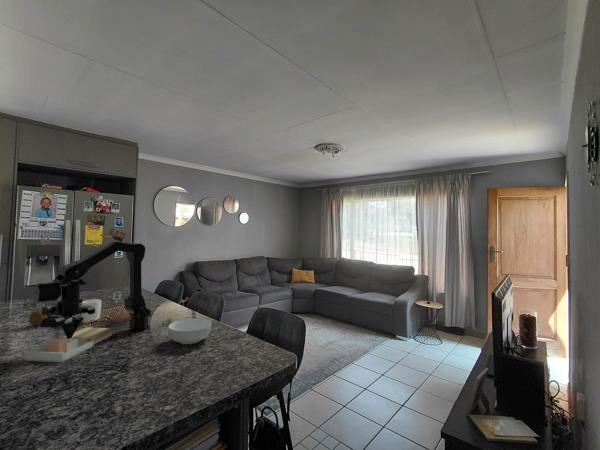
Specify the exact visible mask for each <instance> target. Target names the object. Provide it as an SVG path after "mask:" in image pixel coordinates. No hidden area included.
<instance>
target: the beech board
mask: <svg viewBox="0 0 600 450" xmlns="http://www.w3.org/2000/svg"><path fill="white" fill-rule="evenodd" d="M112 335H113V328H112V327H111V328H110V327H108V328H107V327H82V328H81V329H79V330H78V329H77V330H76V331H75V333H74V334H73V336H72V338H70V339H78V342H90V341H94V345H96V344H97V343H99V342H102V341H103V340H106V339H108V338H109V337H111V336H112ZM62 338H67V337H66V335H65V336H62Z"/></svg>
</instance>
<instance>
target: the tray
mask: <svg viewBox="0 0 600 450" xmlns="http://www.w3.org/2000/svg"><path fill="white" fill-rule="evenodd" d="M94 345H95V344H94V341H90V342H78V347H76V348H74V349H72V350H70V351H68V352H65V353H62V352H46V345H44V346H42V347H39V348H37V349H35V350H26V351H23V352H24V353H23V356H24V357H23V360H24V361H27V362H28V361H29V362H46V363H47V362H48V363H49V362H50V363H53V362H54V363H63V362H64V363H65V362H66V361H68V360H70V359H71V358H73V357H75V356H77V355H79V354H81V353H83V352H84V351H87V350H88V349H91V348H93V347H94Z"/></svg>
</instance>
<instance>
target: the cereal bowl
mask: <svg viewBox="0 0 600 450" xmlns="http://www.w3.org/2000/svg"><path fill="white" fill-rule="evenodd" d="M167 329H168V333H167V334H168V336H169V337H170V339H171V340H172V341H174V342H176V343H180V344H181V345H184V344H185V345H186V344H190V345H194V344H193V343H195V344H197V343H199V342H200V341H202V340H204V339H206V338H207V337H208V336H209V335H210V332H211V331H212V322H211V321H210V320H209V319H205V318H188V319H182V320H177V321H174V322H172V323H170V324H169V325H168V328H167Z"/></svg>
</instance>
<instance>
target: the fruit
mask: <svg viewBox="0 0 600 450" xmlns="http://www.w3.org/2000/svg"><path fill="white" fill-rule="evenodd" d="M44 318H47V315H45V316H43V315H42V309H40V308H37V309H35V310H33V311H31V312H30V314H29V317H28V321H29V323H30V325H31V326H35V327H40V325H41V321H42V320H43V319H44Z"/></svg>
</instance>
